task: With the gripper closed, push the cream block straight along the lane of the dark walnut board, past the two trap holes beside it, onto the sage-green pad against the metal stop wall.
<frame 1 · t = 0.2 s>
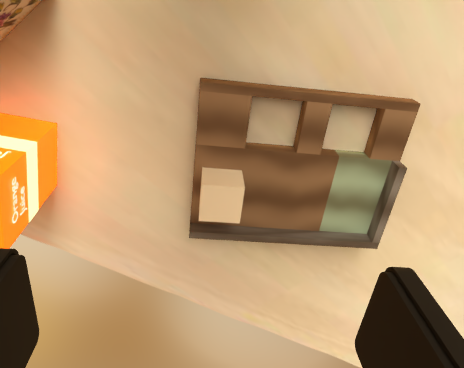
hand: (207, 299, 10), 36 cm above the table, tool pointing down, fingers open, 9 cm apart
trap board: (293, 164, 49), on the table
block: (220, 186, 47), point 2 cm above the table, touching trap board
orange juice: (25, 149, 46), on the table
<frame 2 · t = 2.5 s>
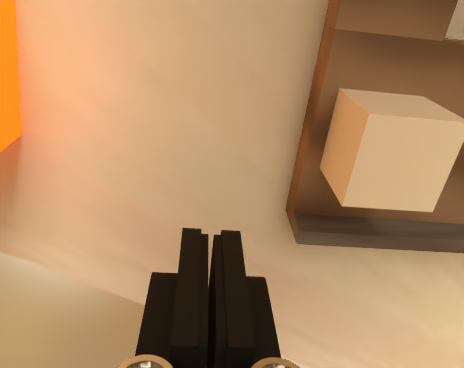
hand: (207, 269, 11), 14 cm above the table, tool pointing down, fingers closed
block: (369, 133, 22), point 2 cm above the table, touching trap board
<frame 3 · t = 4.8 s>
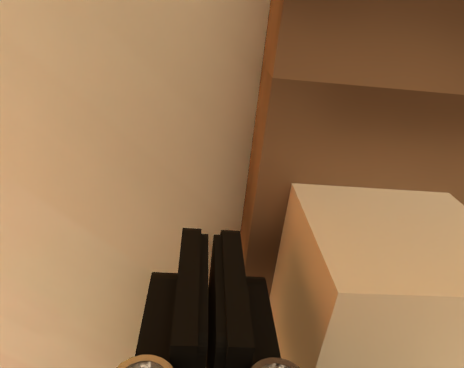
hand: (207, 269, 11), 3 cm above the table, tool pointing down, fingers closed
block: (351, 253, 12), point 2 cm above the table, touching gripper
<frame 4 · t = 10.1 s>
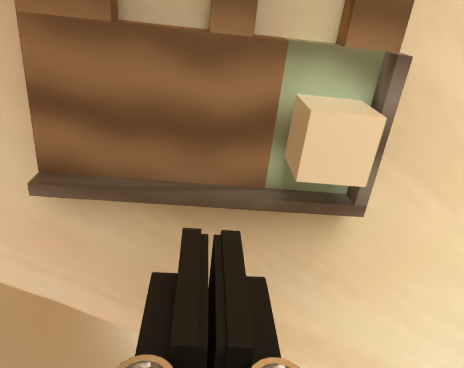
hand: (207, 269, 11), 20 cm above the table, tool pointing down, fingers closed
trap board: (213, 66, 28), on the table
block: (321, 129, 29), point 2 cm above the table, touching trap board
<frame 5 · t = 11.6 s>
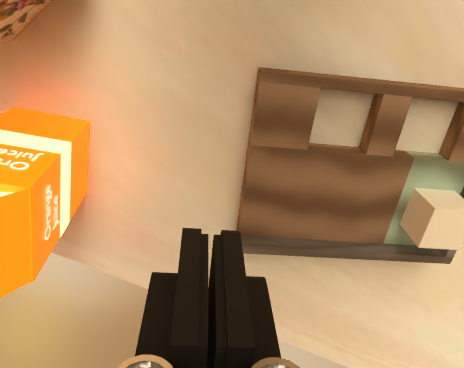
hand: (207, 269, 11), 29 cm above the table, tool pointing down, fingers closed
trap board: (357, 167, 43), on the table
block: (426, 208, 43), point 2 cm above the table, touching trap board
orange juice: (52, 152, 40), on the table
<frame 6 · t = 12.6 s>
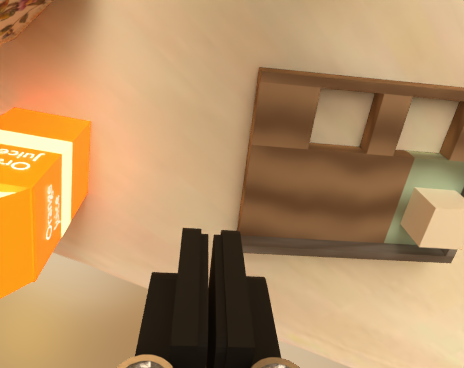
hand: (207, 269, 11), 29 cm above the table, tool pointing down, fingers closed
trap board: (358, 167, 43), on the table
block: (427, 207, 43), point 2 cm above the table, touching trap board
orange juice: (53, 152, 40), on the table
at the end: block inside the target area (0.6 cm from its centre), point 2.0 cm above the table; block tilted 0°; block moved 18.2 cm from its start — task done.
